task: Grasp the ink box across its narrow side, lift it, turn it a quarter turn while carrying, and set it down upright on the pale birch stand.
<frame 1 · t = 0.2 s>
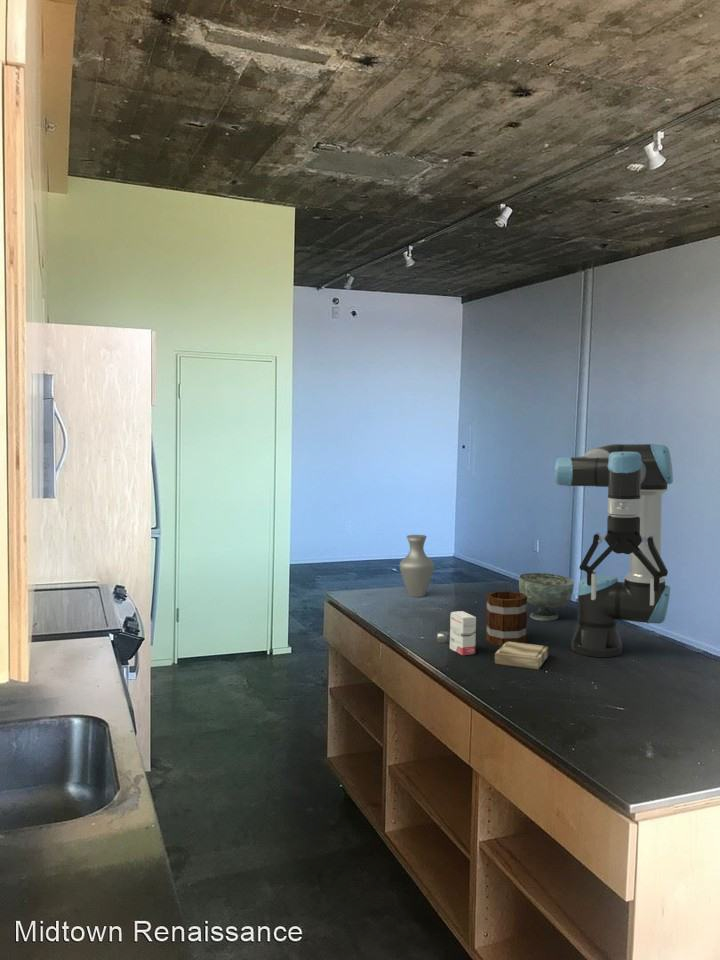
hand: (622, 601, 182), 28 cm above the counter, fingers open, 13 cm apart
ink box: (462, 651, 235), on the counter
vase: (417, 595, 310), on the counter
bowl: (545, 617, 274), on the counter
silver metal dome: (443, 641, 245), on the counter
mug: (507, 638, 249), on the counter
stand: (521, 659, 226), on the counter
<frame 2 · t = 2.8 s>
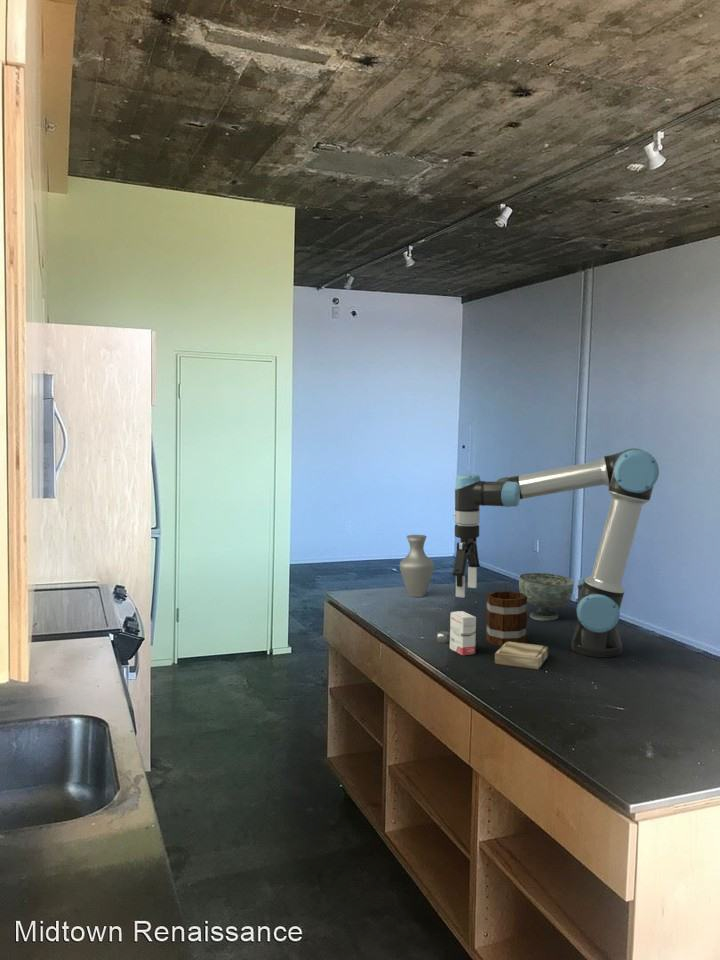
hand: (466, 592, 231), 19 cm above the counter, fingers open, 13 cm apart
nothing on the counter moved.
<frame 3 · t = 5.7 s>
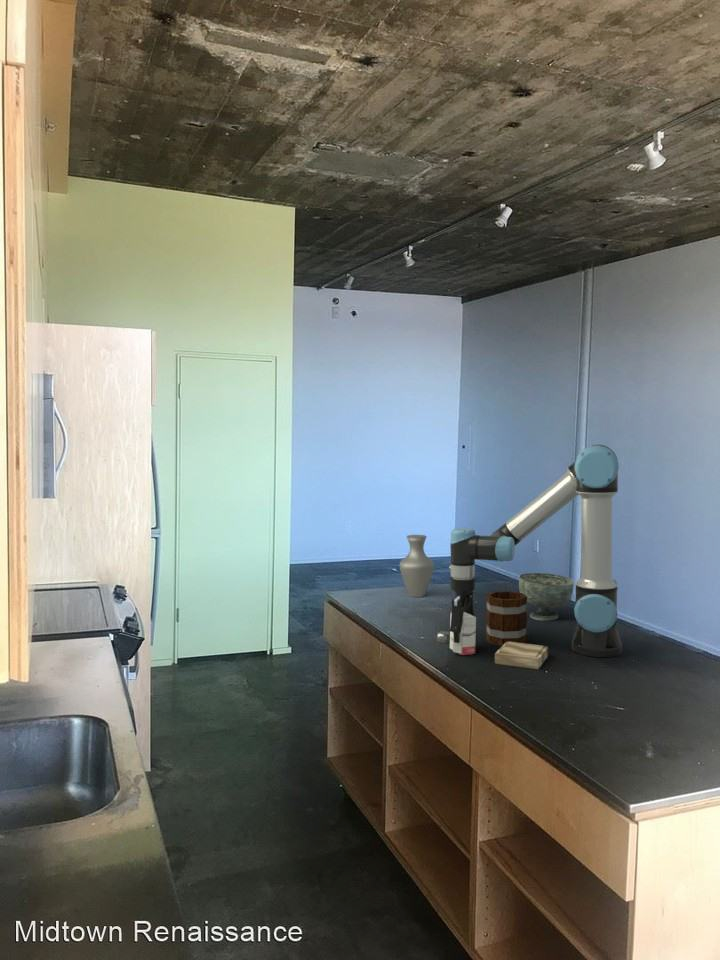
hand: (462, 647, 235), 1 cm above the counter, fingers closed on ink box, 9 cm apart
ink box: (462, 651, 235), on the counter, touching gripper
everything else where it was.
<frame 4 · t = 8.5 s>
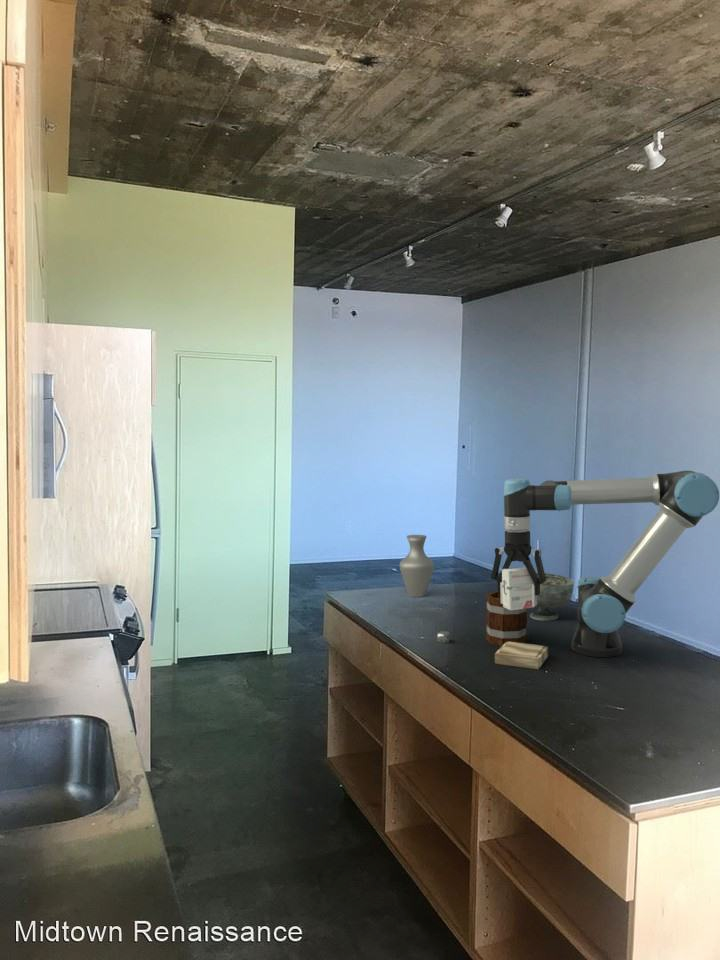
hand: (518, 604, 225), 17 cm above the counter, fingers closed on ink box, 9 cm apart
ink box: (518, 608, 225), point 16 cm above the counter, touching gripper
everything else where it was.
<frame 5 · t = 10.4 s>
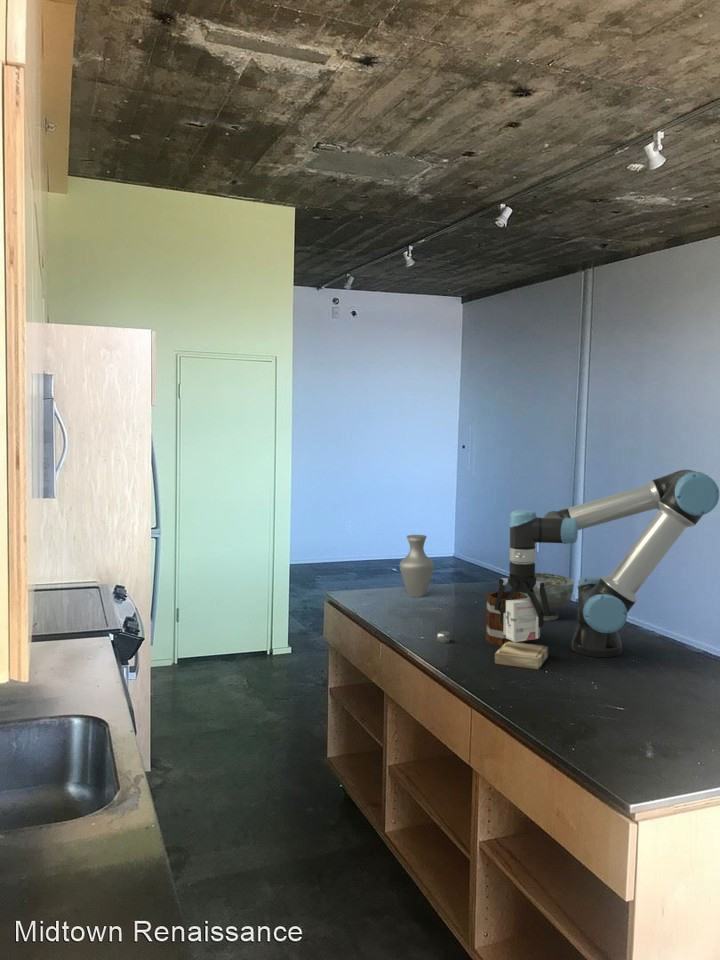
hand: (521, 635, 225), 8 cm above the counter, fingers closed on ink box, 9 cm apart
ink box: (521, 639, 225), point 6 cm above the counter, touching gripper
everything else where it was.
when the fingers open (6 cm above the counter, at t = 11.7 s): ink box drops 1 cm, resting on stand.
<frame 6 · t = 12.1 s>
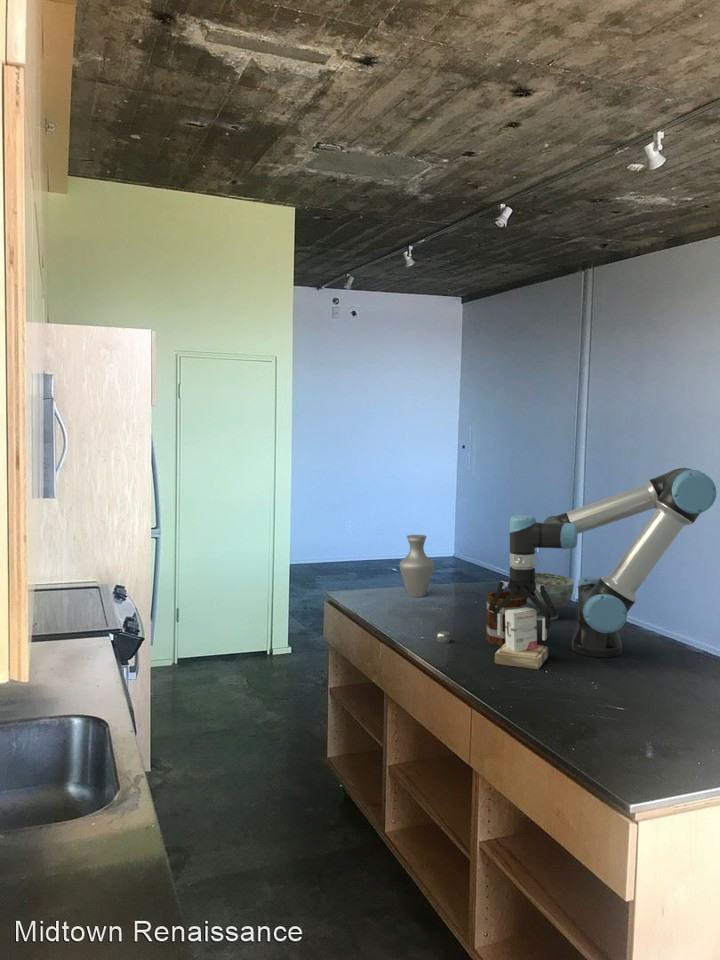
hand: (521, 636, 225), 7 cm above the counter, fingers open, 13 cm apart
ink box: (520, 648, 226), point 3 cm above the counter, touching stand
everything else where it was.
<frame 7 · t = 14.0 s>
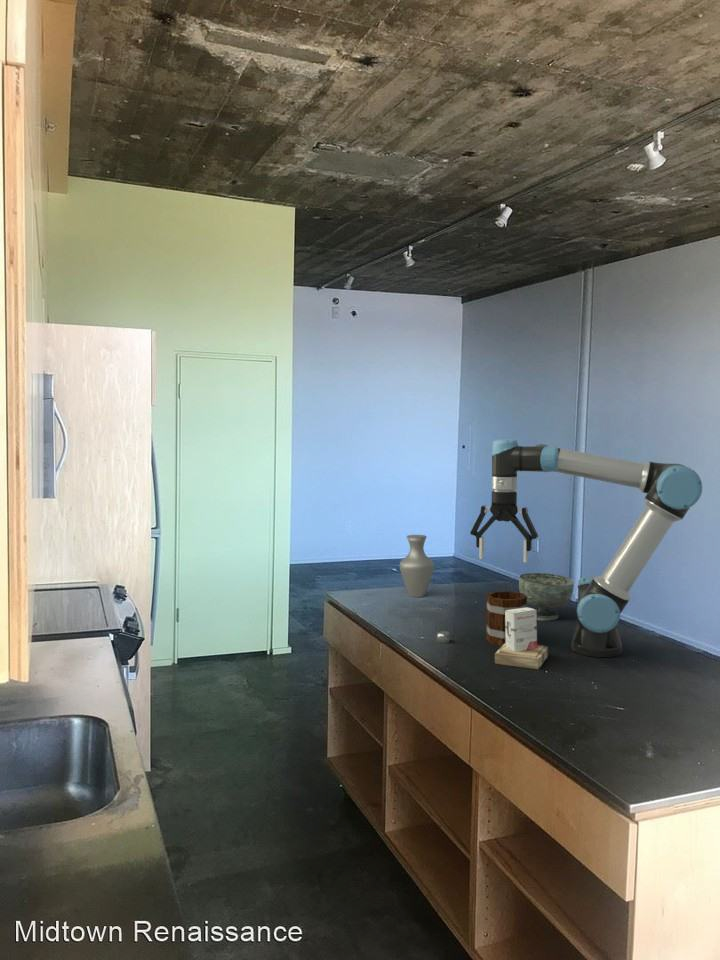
hand: (503, 560, 227), 30 cm above the counter, fingers open, 13 cm apart
nothing on the counter moved.
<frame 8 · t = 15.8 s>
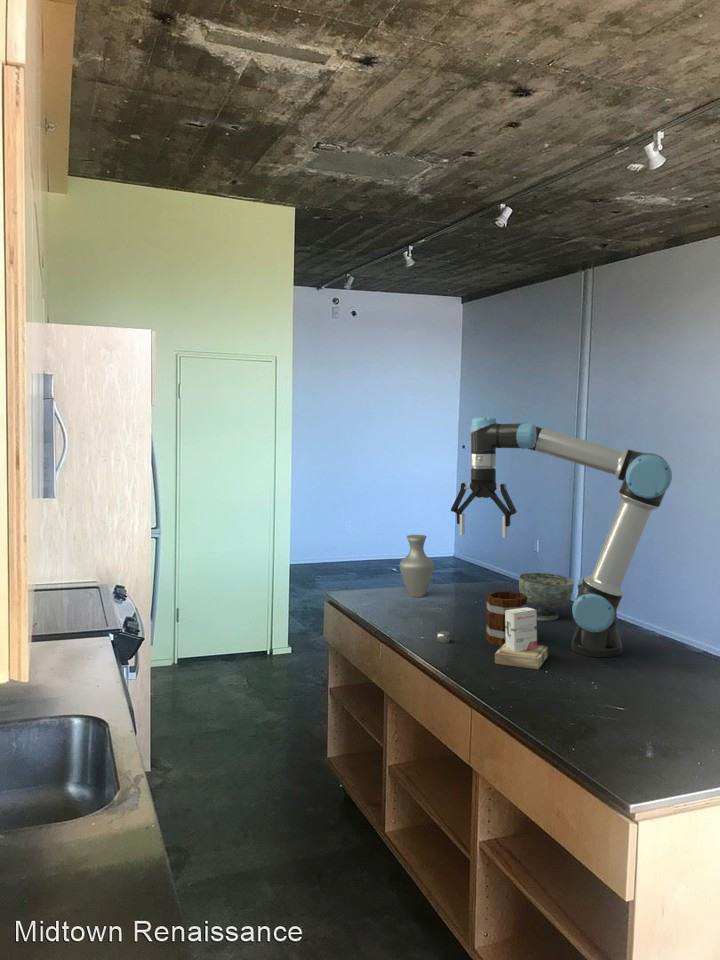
hand: (483, 535, 231), 37 cm above the counter, fingers open, 13 cm apart
nothing on the counter moved.
at the end: ink box inside the target area on the stand (0.3 cm from its centre), point 3.3 cm above the stand's base; ink box tilted 0°; the gripper is holding nothing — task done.
